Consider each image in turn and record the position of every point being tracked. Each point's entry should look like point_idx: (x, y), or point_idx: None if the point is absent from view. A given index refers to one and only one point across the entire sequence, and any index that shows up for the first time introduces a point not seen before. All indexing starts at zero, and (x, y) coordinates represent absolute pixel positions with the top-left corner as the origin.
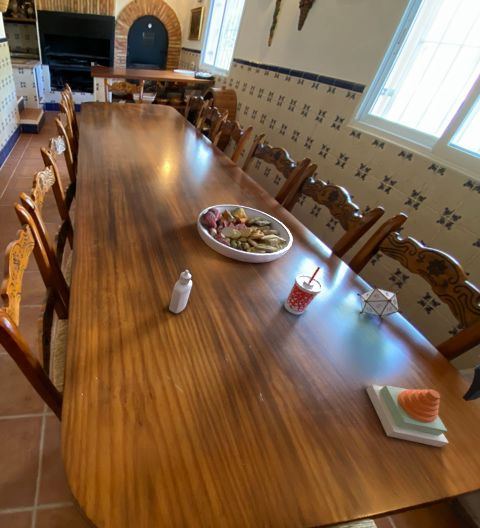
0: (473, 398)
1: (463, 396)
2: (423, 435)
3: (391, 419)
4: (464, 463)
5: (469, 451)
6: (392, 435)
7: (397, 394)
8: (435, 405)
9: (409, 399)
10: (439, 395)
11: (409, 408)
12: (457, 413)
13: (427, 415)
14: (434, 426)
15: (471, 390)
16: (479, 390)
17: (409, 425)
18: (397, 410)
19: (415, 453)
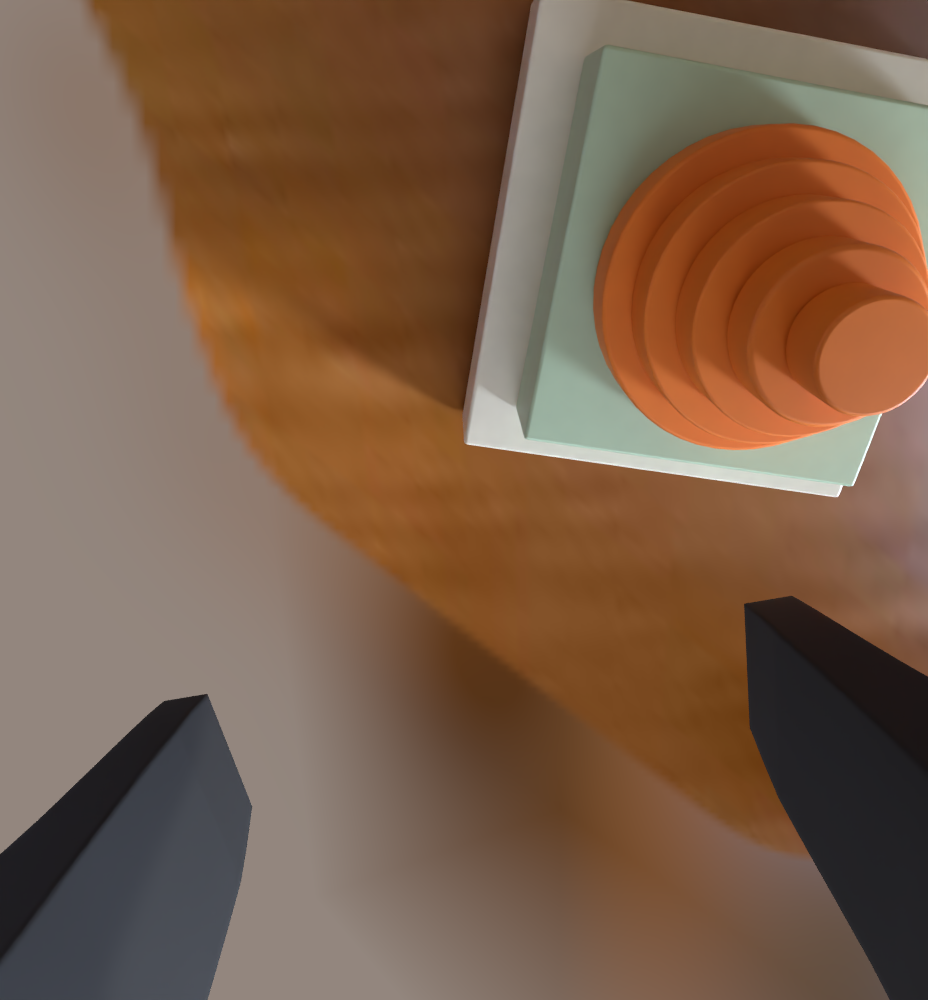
0: (766, 694)
1: (805, 605)
2: (513, 270)
3: (653, 40)
4: (370, 503)
5: (446, 589)
6: (528, 26)
7: None
8: (733, 353)
9: (829, 164)
10: (846, 401)
11: (732, 150)
12: (677, 693)
13: (645, 271)
14: (561, 348)
15: (899, 684)
16: (895, 770)
17: (580, 124)
18: (726, 69)
19: (406, 179)
